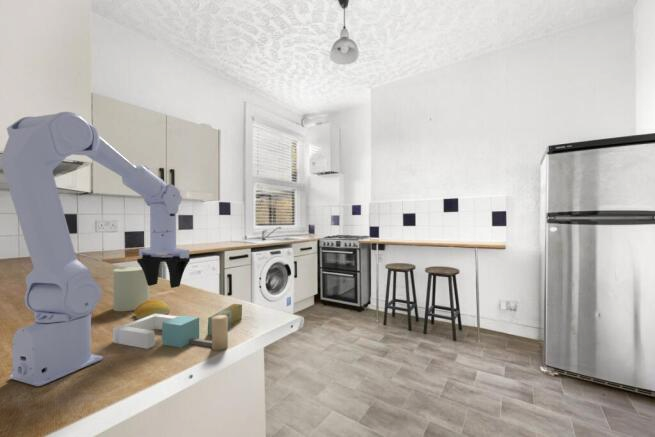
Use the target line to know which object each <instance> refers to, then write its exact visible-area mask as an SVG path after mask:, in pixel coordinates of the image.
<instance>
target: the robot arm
mask: <svg viewBox="0 0 655 437" xmlns="http://www.w3.org/2000/svg"><path fill="white" fill-rule="evenodd" d="M6 132H7V134H8V138H7V141H6V144H5V145H4V149H3V151H2V154H1V157H0V164H1V165H0V166H1V168H2V171H3V173H4V177H5V180H6V183H7V187H8V190H9V194H10V198H11V200H12V203H13V206H14V209H15V210H14V211H15V212H16V213H15V214H16V215H17V219H18V222H19V226H20V229H21V232H22V235H23V238H24V241H25V245H26V247H27V250H28V251H27V252H28V253H29V254H28V255H29V257H30V260H31V263H32V267H33V269H32V270H31V271H30V272H29V273H28V274H27V275H26V276H25V277H24V280H25V283H26V291H25V295H24V303H25V306H26V308H27V309H28V310H30V311H31V312H33V314H34V315H33V316H34V317H33V318H34V319H35V320H34V322H32V323H30V324H29V325H27V326H24V327H23V326H22V327H21V328H19V329H17V330H16V331H15V332H14V334H13V337H12V344H11V345H12V352H11V353H12V355H11V356H12V359H11V360H12V371H11V372H12V374H10V375H9V378H10V379H11V380H14V381H18V382H22V383H25V384H28V385H32V386H35V387H41V386H44V385H46V384H48V383H51V382H53V381H55V380H57V379H60V378H62V377H65V376H67V375H69V374H71V373H74V372H76V371H78V370H80V369H83V368H85V367H87V366H91V365H92V364H95V363H97V362H100V361H102V360H103V358H104V357H103V356H102V355H98V354H93V353H92V337H91V336H92V314H94V309H95V308H97V307H98V305H99V304H100V301H101V299H102V288H101V286H100V284H99V283H98V282H97V281H95V279H94V278H93V276H92V272H91V270H90V269H89V268H88V267H87V266H86V265H85V264H83V263H82V262H80V261H79V260H78V259H77V255H76V251H75V249H74V245H73V241H72V237H71V234H70V230H69V226H68V223H67V219H66V216H65V215H66V214H65V212H64V209H63V205H62V201H61V197H60V194H59V190H58V187H57V183H56V180H55V176H54V170H55V169H56V168H57V167H58V166H59V165H60V164H62V162H64V161H65V160H66V158H68V157H70V156H72V155H74V156H76V155H77V156H85V157H88V158H89V159H91V160H93V161H94V162H96V163H98V164H100V165H102V166H103V167H105V168H106V169H108V170H110V171H112V172H113V173H115V174H117V175H118V176H119V177H121V182H122V184H123V186H124V185H125V187H127V188H129V189H130V190H131V191H134V192H135V193H136V194H138V195H140V196H141V197H142V198H143V200H144V201H143V202H145V204H146V205H147V206H149V217H150V218H149V221H150V222H149V226H150V227H149V236H150V237H149V241H150V242H149V248H139V249H138V256H139V257H140V258H137V259H136V261H137V262H136V263H137V264H139V265H138V266H141V268H142V270H143V272H144V274H145V277H146V281H147V284H148V286H149V287H151V286H155V285H157V284H158V281H159V269H160V265H161V262H162V259H163V258H168V259H164V261H165V264H166V266H167V269H168V274H169V284H170V288H173V289H175V288H179V287H180V286H181V282H182V278H183V275H184V272H185V270H186V267H187V266H188V264H189V262H190V259H191V258H190V249H186V248H185V249H184V248H183V249H182V248H179V247H177V214H178V212H179V206H180V205H181V202H182V198H183V195H181V191H180V190H179V188H178V187H176V185H174V184H170V183H168V184H167V183H166V182H165V181H164V180H163V179H162V178H159V177H158V176H157V175H156V174H154V173H153V172H152V171H151V170H150V168H149V167H148V166H147V165H142V164H133V163H131V161H129V160H128V159H127V158H126V157H125V156H123V155H122V154H121V153H120V152H119V151H117V150H116V149H115V148H114V147H113V146H111V145H110V144H109V142H107V141H106V140H104V139H103V138H102V137H101V136H100V134H99V131H98V129H97V128H96V127H95V125H92V124H90V123H88V121H87V120H85V118H84V117H82V116H80V115H79V114H77V113H75V112H72V111H60V112H58V113H52V114H44V115H38V116H24V117H21V118H19V119H18V120H17V121H15V122H14V123H12V124H11V125H9V126H7V127H6Z"/></svg>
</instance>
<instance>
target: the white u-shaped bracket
mask: <svg viewBox="0 0 655 437" xmlns="http://www.w3.org/2000/svg"><path fill="white" fill-rule="evenodd" d="M178 316H179V315H170V314H166V315H163V314H153V315H150V316H147V317H144V318H142V319H136V320H134V321H129V322H128V323H124V324H121V325H119V326H116V327H113V328H112V343H114V344H119V345H125V346H130V347H136V348H141V349H146V350H148V349H150V348H152V347H155V344H156V341H155V340H156V338H155V330H161V331H162V323H163V322H165V321H168V320H170V319H173V318H176V317H178Z"/></svg>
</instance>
